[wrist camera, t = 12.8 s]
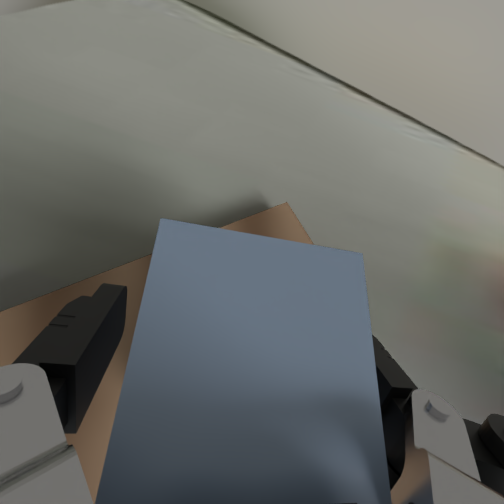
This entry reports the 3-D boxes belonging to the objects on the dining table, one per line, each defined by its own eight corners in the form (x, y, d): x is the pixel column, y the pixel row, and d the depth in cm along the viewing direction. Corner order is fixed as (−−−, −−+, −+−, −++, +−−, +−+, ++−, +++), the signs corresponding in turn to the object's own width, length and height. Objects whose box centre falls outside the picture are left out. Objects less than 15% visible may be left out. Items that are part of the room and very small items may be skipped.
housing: (170, 301, 15) (160, 218, 6) (262, 311, 16) (362, 253, 8) (149, 412, 13) (90, 523, 4) (257, 414, 14) (391, 506, 5)
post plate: (278, 214, 22) (310, 168, 17) (375, 372, 19) (452, 377, 14) (-18, 333, 14) (-138, 317, 9) (68, 635, 11) (-35, 892, 6)
